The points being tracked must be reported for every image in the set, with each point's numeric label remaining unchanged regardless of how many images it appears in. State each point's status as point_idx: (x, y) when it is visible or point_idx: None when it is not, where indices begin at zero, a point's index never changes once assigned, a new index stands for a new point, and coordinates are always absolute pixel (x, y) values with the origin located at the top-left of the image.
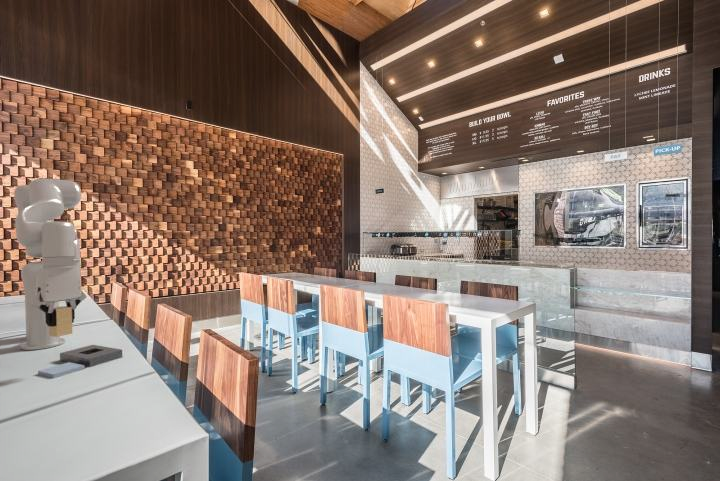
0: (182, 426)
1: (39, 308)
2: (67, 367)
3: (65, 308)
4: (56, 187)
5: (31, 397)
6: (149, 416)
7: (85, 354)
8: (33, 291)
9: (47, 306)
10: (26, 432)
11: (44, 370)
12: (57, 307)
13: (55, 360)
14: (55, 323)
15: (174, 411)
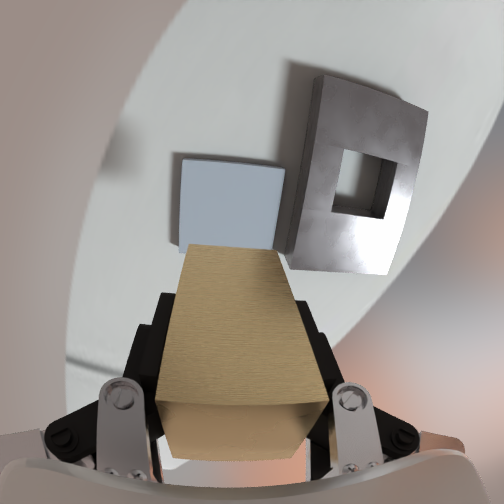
0: (172, 463)
1: (61, 425)
2: (239, 226)
3: (242, 457)
4: None
5: (101, 320)
6: (169, 449)
7: (330, 203)
8: None
9: (127, 443)
10: (80, 397)
11: (192, 178)
12: (244, 415)
13: (313, 56)
14: None
15: None
